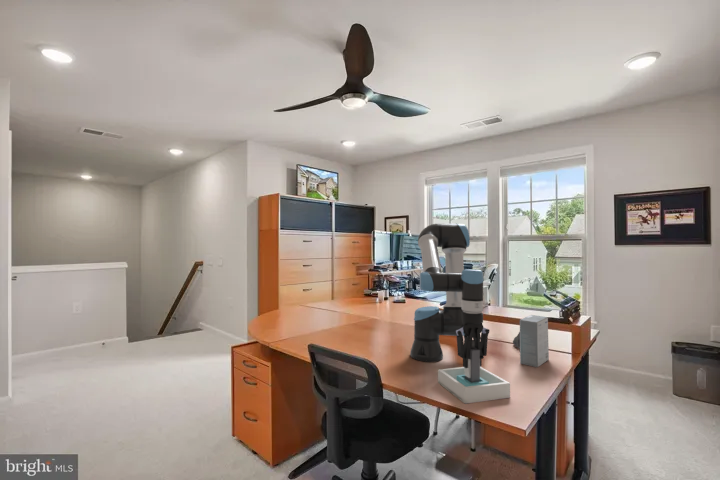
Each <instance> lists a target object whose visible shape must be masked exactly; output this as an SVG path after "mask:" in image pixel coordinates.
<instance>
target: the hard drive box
mask: <svg viewBox="0 0 720 480" xmlns="http://www.w3.org/2000/svg"><path fill="white" fill-rule="evenodd" d="M519 332H520V348H519V363H520V364H521V365H526V366H530V367H535V368H539V367H540V366H541V365H543V364H544V363H546V362H547V361H548V360H549V358H550V355H549V353H550V352H549V348H550V347H549V318H548V316H544V315H543V316H542V315H534V314H530V315H528V316H526V317H522V318H521V319H519Z"/></svg>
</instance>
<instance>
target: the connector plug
mask: <svg viewBox="0 0 720 480" xmlns="http://www.w3.org/2000/svg"><path fill="white" fill-rule="evenodd" d="M469 359H470V360H471V378H468V377H467V376H465V379H466V380H468V381H469V382H471V383H473V382H480V350H479V349H477V348H475V340H473V339H472V341H471V345H470V352H469Z"/></svg>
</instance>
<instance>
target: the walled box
mask: <svg viewBox="0 0 720 480" xmlns="http://www.w3.org/2000/svg"><path fill="white" fill-rule="evenodd" d="M437 383H438V384H439V385H440V386H442V387H443V388H444V389H445V390H446V391H448V392H449V393H450V394H452V395H453V396H454V397H455V398H456V399H459V400H460V401H461V402H462V404H473V403H474V404H475V403H479V402H480V403H481V402H488V401H494V400H502V399H510V398H511V382H509V381H507V380H505V379H504V378H502V377H500V376H498V375H497V374H494V373H493V372H491V371H490V370H487V369H485V368H484V367H482V366H481V367H480V382H473V383H471V382H469V381H468V380H466V379H465V368H464V367H463V366H461V367H449V368H441V369H437Z"/></svg>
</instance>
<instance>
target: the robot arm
mask: <svg viewBox="0 0 720 480" xmlns="http://www.w3.org/2000/svg"><path fill="white" fill-rule="evenodd" d="M470 238H471V237H470V233H469V229H468V227H467V226H466V225H465V224H464V223H456V222H455V223H432V224H430V225H428V226H426V227H424V228H423V229H422V230H421V232H420V233H419V235H418V237H417V246H418V248H419V249H420V251H421V261H422V268H423V269H422V270H423V272H422V271H421V272H420V273H419V288H420V290H421V291H424V292H445V297H446V298H445V304H444V305H443V306H442V309H440V307H439V306H431V305H430V306H428V305H427V306H422V307H418V308H417V309H415V311H414V317H413V320H414V324H413V325H414V329H413V330H414V333H413V334H414V335H413V336H414V337H413V338H414V339H413V342H412V346H411V348H410V352H409V353H410V357H411V358H412V359H413V360H416V361H420V362H425V363H426V362H429V363H431V362H432V363H433V362H440V361H442V360H443V358H444V353H443V349H442V346H441V343H440V336H447V337H448V336H453V337H456V346H457V348H456V350H457V357H459V358H461V359H462V367H464V368H465V376H467V377H468V378H471V360H470V359H469V352H470V345H471V341H472V340H475V348H477V349H479V350H480V367H482V365H483V363H482V361H483V359H484V357H486V356H487V353H488V339H489V338H488V337H489V334H490V329H489V328H488V327H487V328H486V327H484V324H483V323H484V313H483V311H484V271H482V270H481V269H472V268H471V269H469V268H468V269H467V268H465V267H464V253H466V251H467V248H469V247H470V244H471V243H470V242H471V241H470V240H471V239H470ZM438 248H441V252H443V254H445V255H444V256H445V257H444V259H445V272H443V271H442V264H441V259H440V255H439V250H438Z"/></svg>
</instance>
